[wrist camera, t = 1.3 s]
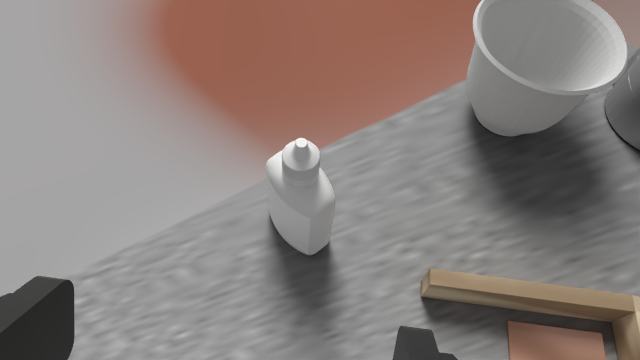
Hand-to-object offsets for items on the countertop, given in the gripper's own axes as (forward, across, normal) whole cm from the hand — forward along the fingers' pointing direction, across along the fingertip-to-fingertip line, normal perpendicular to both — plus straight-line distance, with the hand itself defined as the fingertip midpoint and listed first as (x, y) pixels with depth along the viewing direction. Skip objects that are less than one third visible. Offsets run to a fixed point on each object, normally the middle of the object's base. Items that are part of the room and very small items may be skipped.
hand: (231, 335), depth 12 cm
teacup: (+38, -18, -4) cm, 43 cm away
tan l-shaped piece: (+22, -18, +13) cm, 31 cm away
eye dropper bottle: (+27, 0, +7) cm, 28 cm away
